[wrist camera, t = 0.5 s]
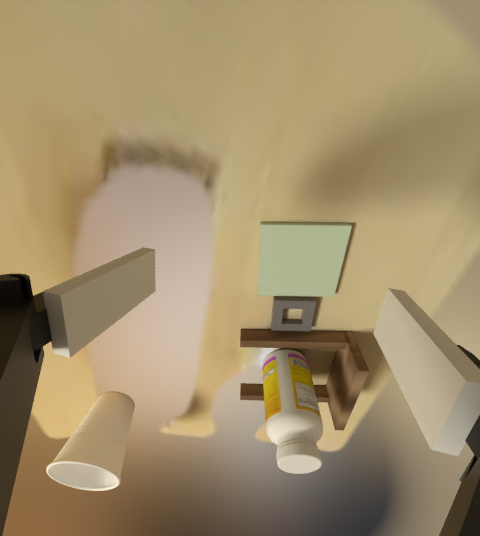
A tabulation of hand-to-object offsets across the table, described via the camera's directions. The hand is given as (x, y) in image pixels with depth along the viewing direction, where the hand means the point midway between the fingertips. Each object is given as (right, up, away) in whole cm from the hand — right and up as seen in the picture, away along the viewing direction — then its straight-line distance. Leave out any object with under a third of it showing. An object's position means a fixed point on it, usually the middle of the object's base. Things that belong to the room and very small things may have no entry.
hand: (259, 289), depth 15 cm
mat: (+6, +2, +14) cm, 15 cm away
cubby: (+6, -13, +23) cm, 27 cm away
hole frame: (+6, -4, +18) cm, 19 cm away
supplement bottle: (+6, -13, +24) cm, 27 cm away
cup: (-22, -22, +31) cm, 44 cm away
